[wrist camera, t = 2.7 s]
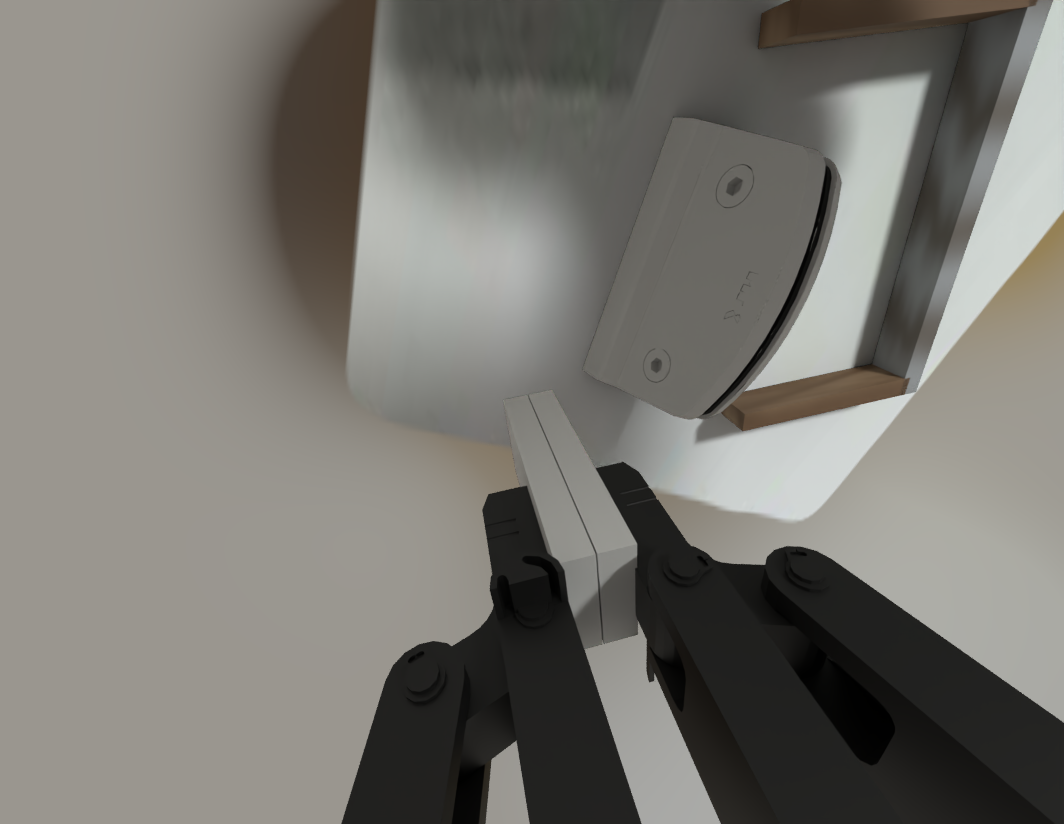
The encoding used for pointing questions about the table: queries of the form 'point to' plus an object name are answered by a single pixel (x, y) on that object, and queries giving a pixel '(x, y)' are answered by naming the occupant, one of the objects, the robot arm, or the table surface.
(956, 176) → the brown u-shaped frame
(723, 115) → the table surface
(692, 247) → the hinge
